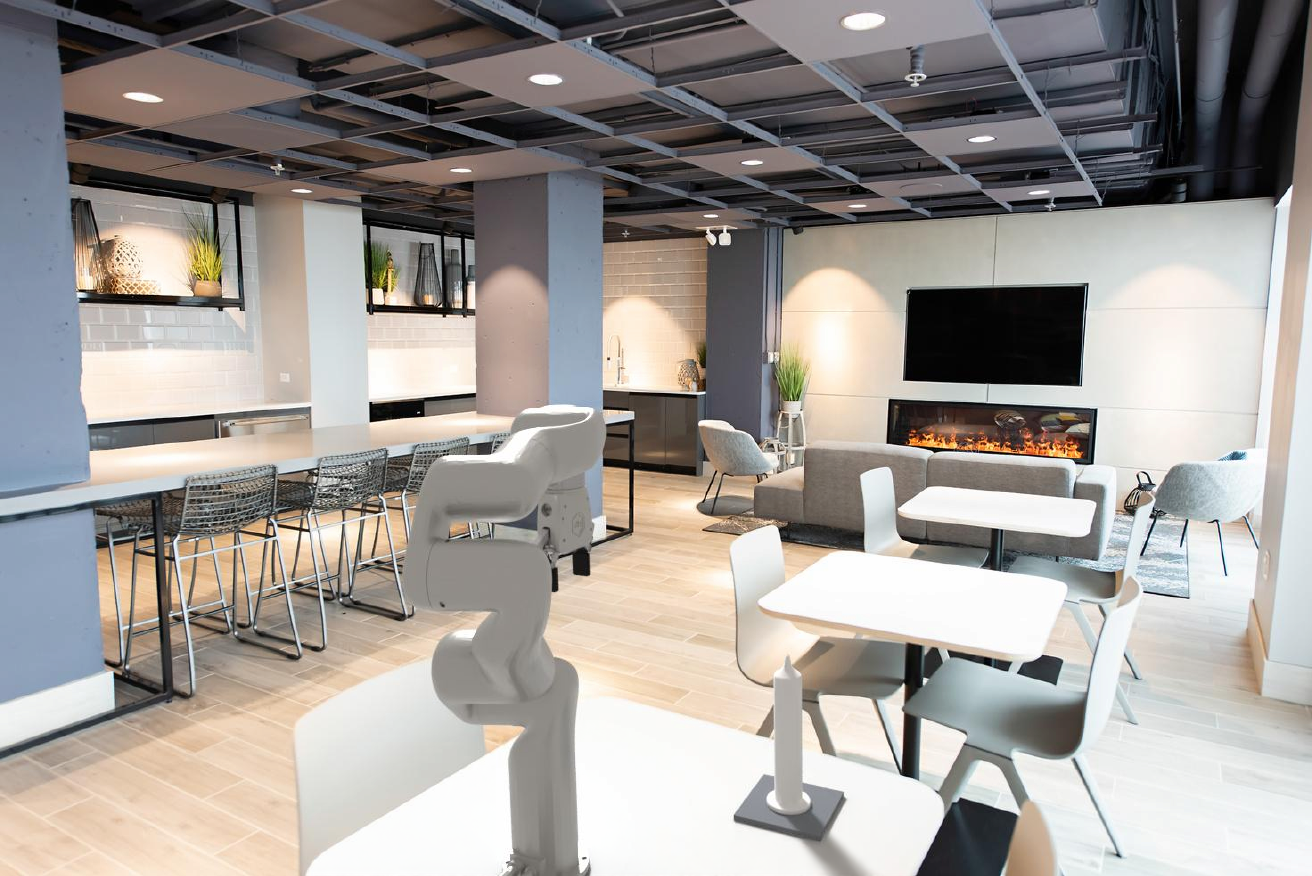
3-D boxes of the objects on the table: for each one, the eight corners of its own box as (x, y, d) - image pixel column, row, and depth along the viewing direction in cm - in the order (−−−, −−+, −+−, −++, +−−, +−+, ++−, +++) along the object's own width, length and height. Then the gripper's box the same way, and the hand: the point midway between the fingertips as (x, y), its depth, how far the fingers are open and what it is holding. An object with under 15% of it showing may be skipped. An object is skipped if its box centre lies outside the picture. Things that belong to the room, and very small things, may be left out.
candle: (810, 817, 134) (809, 664, 131) (765, 813, 136) (763, 661, 133) (811, 793, 141) (810, 647, 138) (768, 790, 142) (766, 645, 140)
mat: (819, 841, 129) (819, 836, 129) (733, 819, 135) (733, 814, 135) (844, 796, 142) (844, 791, 141) (763, 778, 148) (763, 774, 148)
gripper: (551, 491, 130) (555, 600, 132) (608, 473, 145) (611, 572, 147) (511, 488, 133) (516, 594, 135) (571, 471, 149) (574, 567, 151)
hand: (566, 582), depth 141 cm, fingers open, 9 cm apart
